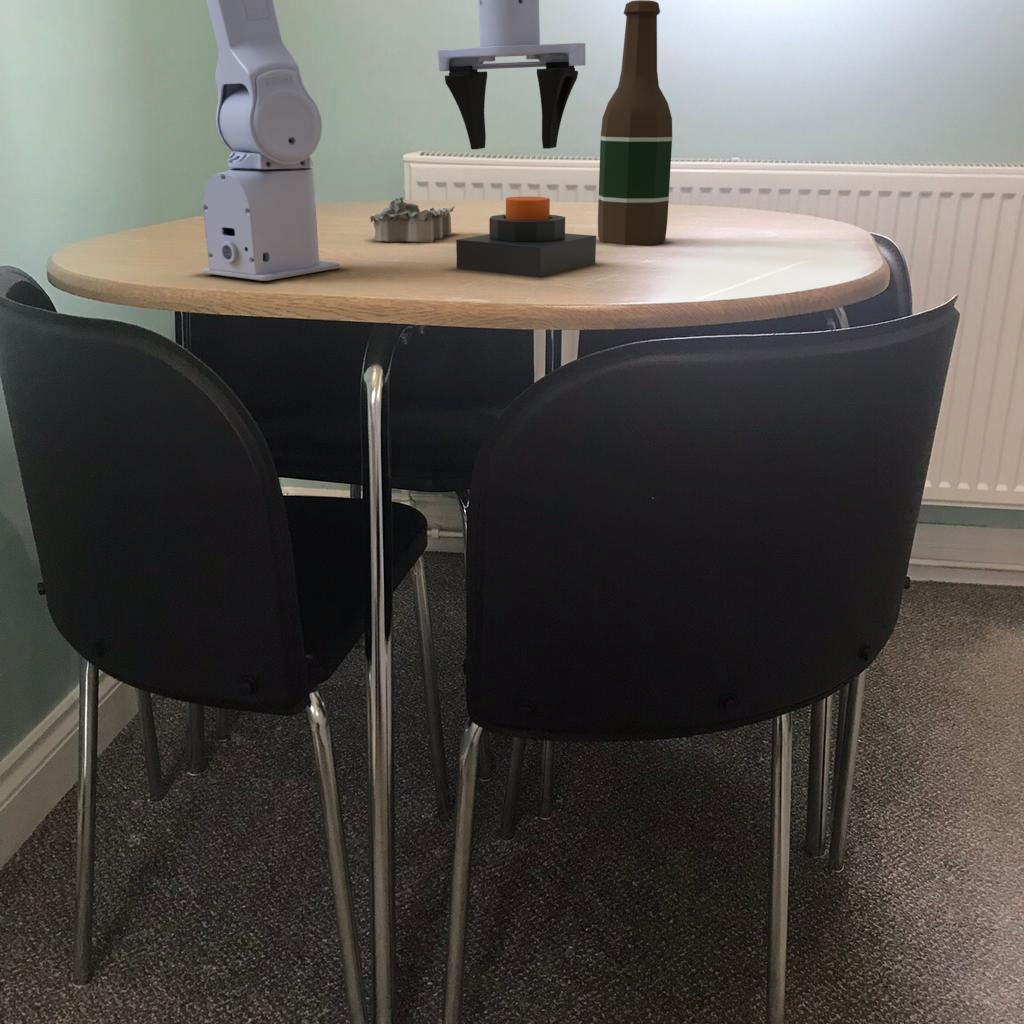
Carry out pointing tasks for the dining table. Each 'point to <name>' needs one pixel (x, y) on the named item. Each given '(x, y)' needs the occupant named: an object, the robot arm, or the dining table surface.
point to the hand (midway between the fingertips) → (513, 148)
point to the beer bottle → (636, 141)
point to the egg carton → (411, 223)
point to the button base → (526, 248)
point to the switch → (527, 208)
